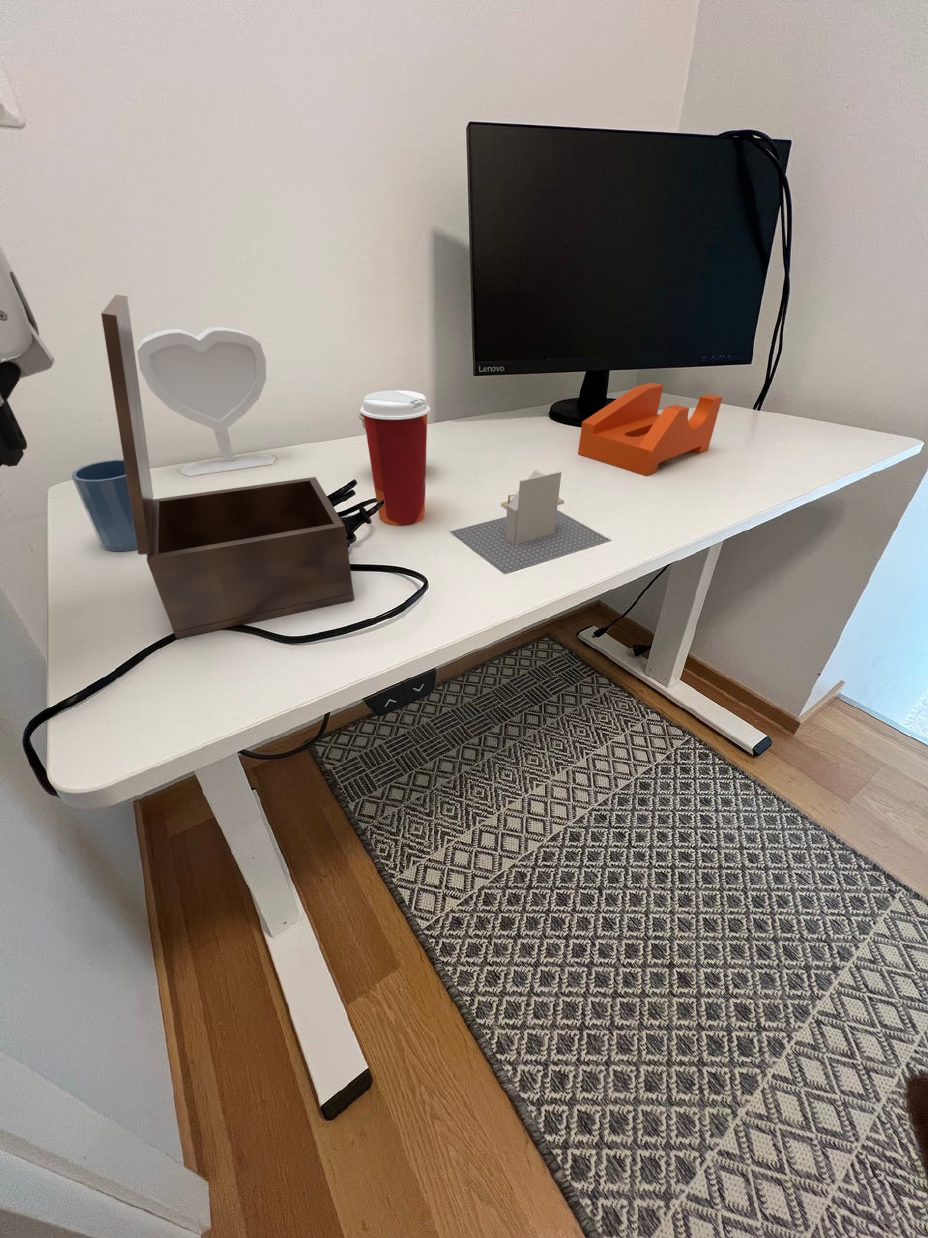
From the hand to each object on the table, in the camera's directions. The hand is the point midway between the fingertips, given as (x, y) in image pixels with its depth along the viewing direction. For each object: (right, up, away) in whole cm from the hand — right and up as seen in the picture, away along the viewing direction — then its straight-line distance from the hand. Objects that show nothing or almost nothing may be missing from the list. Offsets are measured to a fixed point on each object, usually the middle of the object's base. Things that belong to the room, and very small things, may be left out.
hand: (7, 460), depth 40 cm
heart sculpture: (-1, +11, +41) cm, 43 cm away
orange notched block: (+63, +15, +48) cm, 81 cm away
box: (+14, -8, +14) cm, 21 cm away
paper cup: (+26, +1, +27) cm, 38 cm away
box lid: (+8, +4, +2) cm, 9 cm away
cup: (-4, -3, +21) cm, 22 cm away
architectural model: (+42, -2, +23) cm, 48 cm away
